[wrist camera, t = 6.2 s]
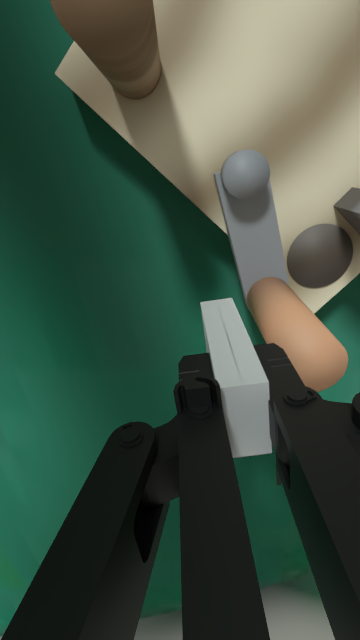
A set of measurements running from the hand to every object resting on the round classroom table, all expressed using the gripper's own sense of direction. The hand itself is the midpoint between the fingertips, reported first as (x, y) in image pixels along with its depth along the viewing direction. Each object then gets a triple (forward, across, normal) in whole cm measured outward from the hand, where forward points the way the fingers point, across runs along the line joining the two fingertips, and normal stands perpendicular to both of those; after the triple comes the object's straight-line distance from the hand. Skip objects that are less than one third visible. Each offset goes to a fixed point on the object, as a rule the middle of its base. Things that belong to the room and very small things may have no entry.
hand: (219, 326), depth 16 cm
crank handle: (+4, +3, +3) cm, 6 cm away
